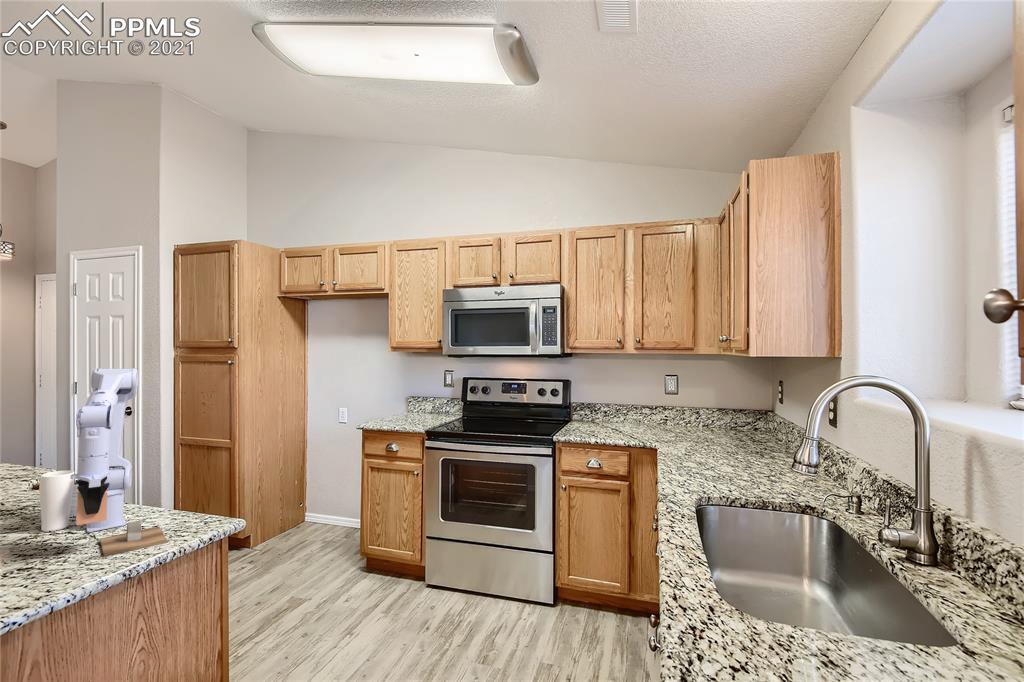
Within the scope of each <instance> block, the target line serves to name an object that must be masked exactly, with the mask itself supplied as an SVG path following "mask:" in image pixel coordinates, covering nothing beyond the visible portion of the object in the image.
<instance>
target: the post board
mask: <svg viewBox="0 0 1024 682" xmlns="http://www.w3.org/2000/svg"><path fill="white" fill-rule="evenodd" d="M99 542H100V548H101V550H102V554H103V558H104V557H109V556H114V555H117V554H118V555H119V554H122V553H127V552H131V551H136V550H140V549H145V548H150V547H153V546H157V545H163V544H165V543H167V542H168V538H167V537H166V535H165V533H164V532H163V530H162V529H161V527H160V526H155V527H149V528H144V529H142V521H141V520H136V521H130V522H126V533H120V534H114V535H110V536H106V537H100V538H99ZM167 544H168V543H167Z"/></svg>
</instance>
